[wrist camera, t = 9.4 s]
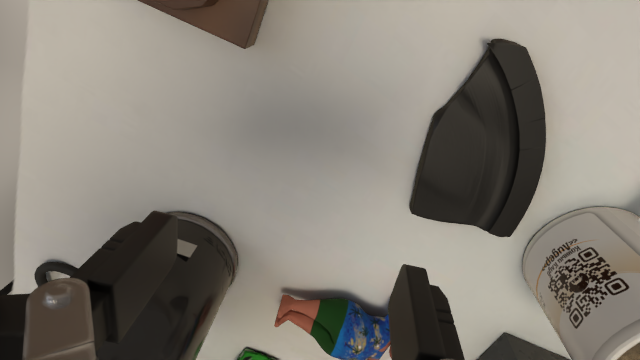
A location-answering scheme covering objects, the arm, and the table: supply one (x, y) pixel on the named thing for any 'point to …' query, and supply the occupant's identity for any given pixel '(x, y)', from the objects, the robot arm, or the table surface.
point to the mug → (589, 281)
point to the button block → (218, 17)
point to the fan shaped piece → (485, 146)
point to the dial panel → (517, 350)
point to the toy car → (253, 356)
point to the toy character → (338, 327)
